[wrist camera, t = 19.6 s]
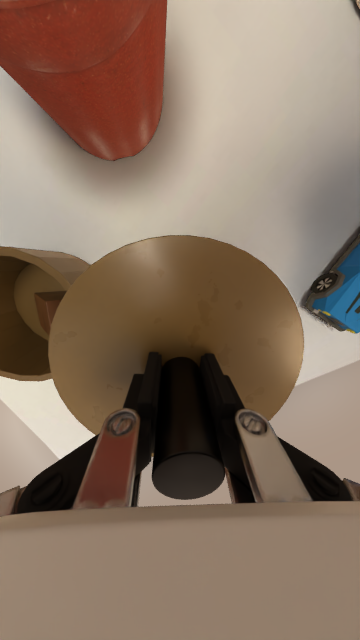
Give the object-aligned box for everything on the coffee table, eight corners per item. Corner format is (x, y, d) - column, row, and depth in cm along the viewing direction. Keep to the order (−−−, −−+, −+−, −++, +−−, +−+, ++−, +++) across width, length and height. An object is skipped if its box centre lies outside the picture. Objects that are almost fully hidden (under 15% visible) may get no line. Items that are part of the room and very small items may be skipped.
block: (73, 290, 25) (90, 297, 21) (77, 319, 26) (94, 331, 22) (33, 292, 22) (45, 301, 18) (40, 326, 23) (53, 340, 19)
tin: (110, 255, 24) (80, 251, 16) (116, 348, 29) (95, 382, 21) (-1, 248, 23) (-93, 240, 15) (23, 346, 28) (-37, 380, 20)
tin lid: (323, 247, 10) (594, 222, 4) (265, 443, 15) (333, 576, 9) (35, 228, 9) (-302, 146, 3) (77, 445, 14) (0, 596, 8)
